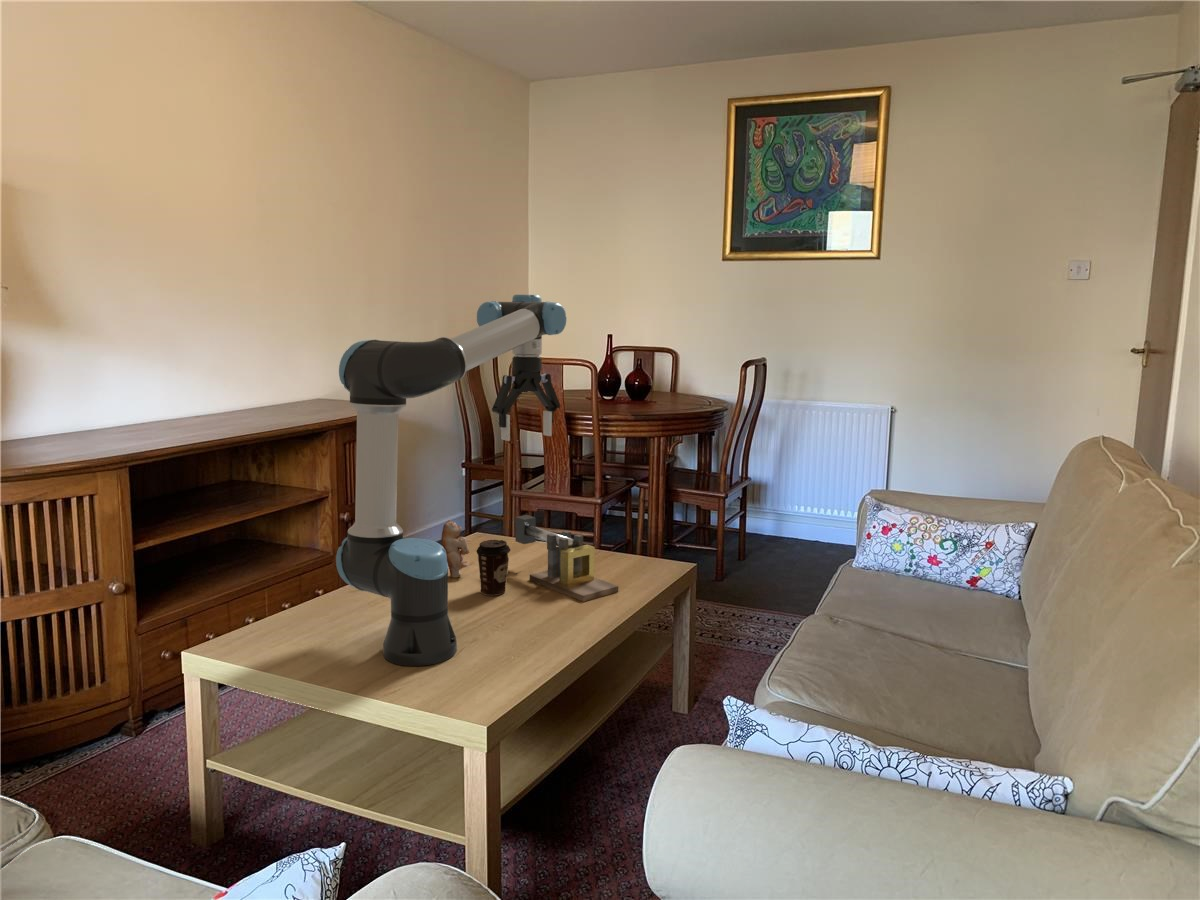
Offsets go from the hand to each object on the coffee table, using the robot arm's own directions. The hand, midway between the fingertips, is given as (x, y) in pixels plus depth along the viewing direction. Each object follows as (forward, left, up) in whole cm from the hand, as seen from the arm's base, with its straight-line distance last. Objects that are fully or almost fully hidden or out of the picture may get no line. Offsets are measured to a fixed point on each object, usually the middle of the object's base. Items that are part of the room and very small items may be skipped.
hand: (526, 437), depth 219 cm
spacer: (+7, -13, -37) cm, 40 cm away
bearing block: (+7, -11, -39) cm, 41 cm away
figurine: (-12, +16, -39) cm, 44 cm away
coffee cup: (-12, -2, -39) cm, 41 cm away
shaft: (+7, +1, -31) cm, 32 cm away
